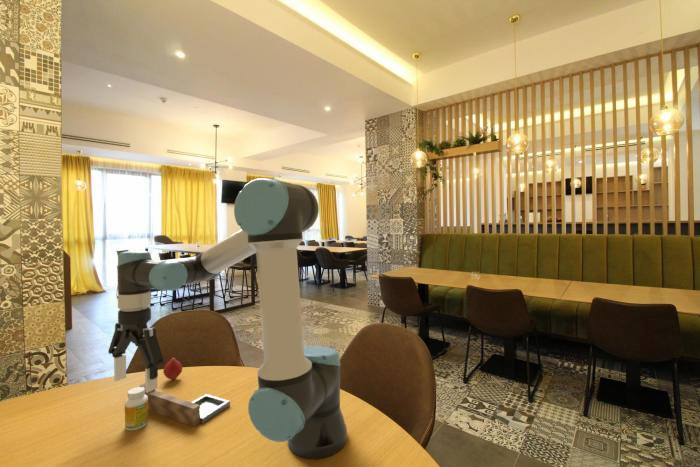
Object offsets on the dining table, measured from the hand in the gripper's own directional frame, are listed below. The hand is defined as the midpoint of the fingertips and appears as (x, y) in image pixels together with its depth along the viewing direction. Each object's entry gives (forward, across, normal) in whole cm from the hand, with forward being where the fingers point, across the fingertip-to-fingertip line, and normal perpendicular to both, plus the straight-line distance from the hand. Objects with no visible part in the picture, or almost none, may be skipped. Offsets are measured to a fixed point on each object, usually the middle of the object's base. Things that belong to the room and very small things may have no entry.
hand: (135, 384), depth 90 cm
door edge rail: (+11, -5, -7) cm, 14 cm away
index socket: (+11, -12, -13) cm, 21 cm away
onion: (+12, +14, -22) cm, 29 cm away
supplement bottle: (+11, 0, 0) cm, 11 cm away
